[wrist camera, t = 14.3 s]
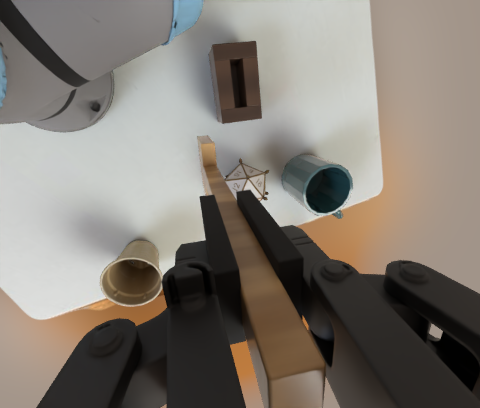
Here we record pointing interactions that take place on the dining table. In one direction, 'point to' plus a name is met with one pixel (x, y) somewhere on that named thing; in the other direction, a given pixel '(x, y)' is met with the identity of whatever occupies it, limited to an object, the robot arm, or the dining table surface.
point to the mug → (318, 184)
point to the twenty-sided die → (247, 181)
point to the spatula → (266, 308)
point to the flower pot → (133, 275)
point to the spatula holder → (235, 81)
